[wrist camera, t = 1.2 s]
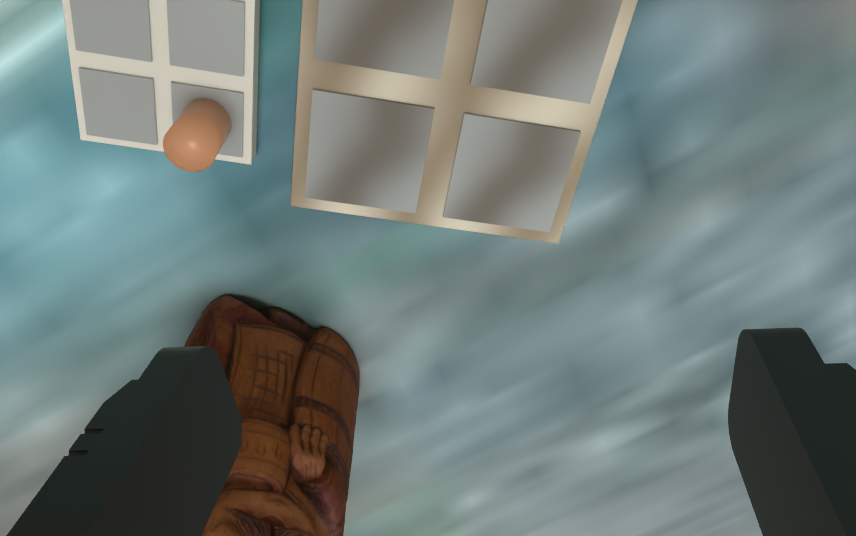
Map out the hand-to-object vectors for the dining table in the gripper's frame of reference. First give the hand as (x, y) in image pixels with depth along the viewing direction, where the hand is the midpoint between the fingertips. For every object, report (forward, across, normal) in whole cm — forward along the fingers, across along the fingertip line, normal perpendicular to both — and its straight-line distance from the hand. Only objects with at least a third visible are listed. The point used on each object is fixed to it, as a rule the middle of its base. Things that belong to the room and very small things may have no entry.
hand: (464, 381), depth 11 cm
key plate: (+22, +15, 0) cm, 27 cm away
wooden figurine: (+23, +14, +18) cm, 33 cm away
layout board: (+24, +2, +2) cm, 24 cm away
